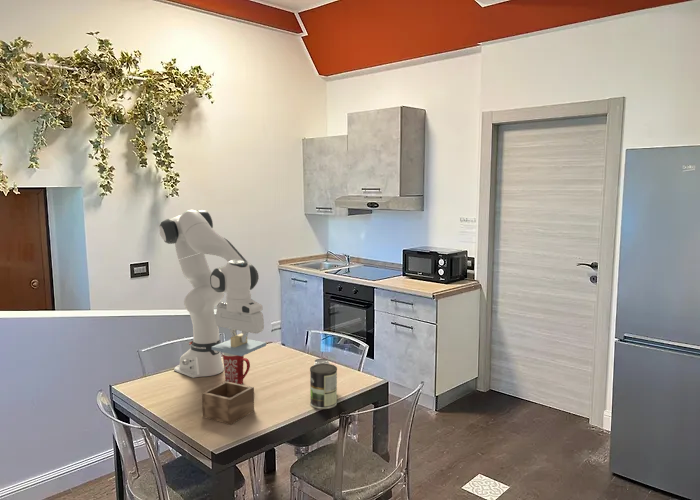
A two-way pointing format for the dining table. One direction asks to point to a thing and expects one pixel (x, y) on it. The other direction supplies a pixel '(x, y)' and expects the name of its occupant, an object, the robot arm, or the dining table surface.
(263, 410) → the dining table surface
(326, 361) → the can
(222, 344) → the lid
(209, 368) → the robot arm
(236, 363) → the mug
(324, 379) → the coffee can
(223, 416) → the box
